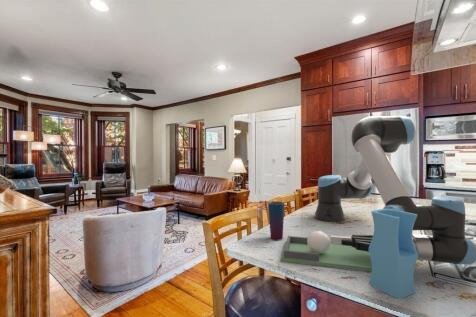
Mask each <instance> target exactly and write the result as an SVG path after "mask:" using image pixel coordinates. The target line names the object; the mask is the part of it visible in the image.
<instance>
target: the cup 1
mask: <svg viewBox="0 0 476 317" xmlns="http://www.w3.org/2000/svg"><path fill="white" fill-rule="evenodd" d="M267 207H268V215H269V216H268V219H269V232H270V239H271V240H274V241H282V240H283V237H284V236H283V235H284V221H285V220H284V218H285V202H283V201H268V205H267Z"/></svg>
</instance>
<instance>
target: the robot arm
mask: <svg viewBox="0 0 476 317" xmlns="http://www.w3.org/2000/svg"><path fill="white" fill-rule="evenodd" d="M415 135H416V127H415V123H414V122H413V120H412V119H411V118H410V117H408V116H402V115H391V116H390V115H387V116H386V115H385V116H382V115H381V116H378V115H377V116H375V115H374V116H372V115H371V116H367V117H364V118H362V119H360V120H359V121H358V122H357V123H356V124H355V126H354V127H353V129H352V131H351V143H352V146H353V148H354V151H356V152H357V153H359V154H360V156H361V159H360V161H359V163H358V165H357V166H356V168H355V169H354V170H353V171H351V172H349V174H348V175H347V176H346V177H345V176H344V177H342V176H341V175H340V174H330V175H329V174H328V175H323V176H320V177H319V178H318V181H317V200H318V203H317V207H316V211H315V212H314V218H315V219H317V220H318V221H319V220H320V221H324V222H342V221H344V220H345V213H344V210H343V207H342V200H348V199H349V200H352V199H353V200H356V199H357V200H362V199H367V198H369V197H370V196H371V194H372V193H373V183H374V185H375V187H376V189H377V191H378V193H379V196H380V197H381V200H382V202H383V204H384V207H383V208H382V209H394V210H399V211H404V212H408V213H413V214H417V218H416V220H415V223H414V226H413V231H431V233H432V234H431V235H426V234H416V233H415V234H414V233H412V237H413V242H414V245H415V248H416V251H417V253H418V259H417V261H419V262H422V263H423V262H424V261H426V262H437V263H444V264H445V263H447V264H453V265H472V264H474V263H476V245H475V243H474V242H473V241H472V240H471V239H469V238H467V237H466V236H465V235H466V234H465V233H466V231H465V230H466V215H467V213H466V207H465V201H463V200H461V199H459V198H455V197H449V196H448V197H447V196H437V197H436V196H435V197H433V198H432V199H431V204H416V203H415V202H414V201H413V199H412V197H411V196H410V194H409V192H408V190H407V189H406V187H405V185H404V184H403V182H402V180H401V179H400V176H399V175H398V173H397V171H396V169H395V168H394V166H393V164H392V163H391V161H390V159H389V157H388V156H390V155H391V154H393V153H396V152H397V151H398V149H399V148H400V147H401V146H402V145H404V146H407V145H408V144H411V143H412V142H413V141H414V139H415ZM372 181H373V182H372ZM373 235H374V234H352V235H351V236H344V235H343V236H342V235H330V236H329V237H330V238H329V240H330V245H339V246H349V247H354V248H356V250H361V251H367V252H369V246H370V244H371V241H372V238H373Z"/></svg>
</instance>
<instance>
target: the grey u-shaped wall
mask: <svg viewBox="0 0 476 317" xmlns="http://www.w3.org/2000/svg"><path fill="white" fill-rule="evenodd" d="M307 238H308V236H306V237H305V236H295V235H288V236H287V238H286V241H287V242H286V246H285V250H284V257H285V258H294V259H303V260H312V261H319V253H311V252H302V251H292V250H289V247H290V243H301V244H307Z"/></svg>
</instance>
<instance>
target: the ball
mask: <svg viewBox="0 0 476 317" xmlns="http://www.w3.org/2000/svg"><path fill="white" fill-rule="evenodd" d="M307 237H308V238H307V244H308V247H309V248H310V249H311V250H312V251H313V252H315V253H319V254H322V253H325V252H326V251H327V250H328V249H329V246H330V245H331V243H330V238H329V236H328V235H327V234H326V233H325V232H323V231H321V230H314V231H311V233H309V234H308V236H307Z"/></svg>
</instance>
